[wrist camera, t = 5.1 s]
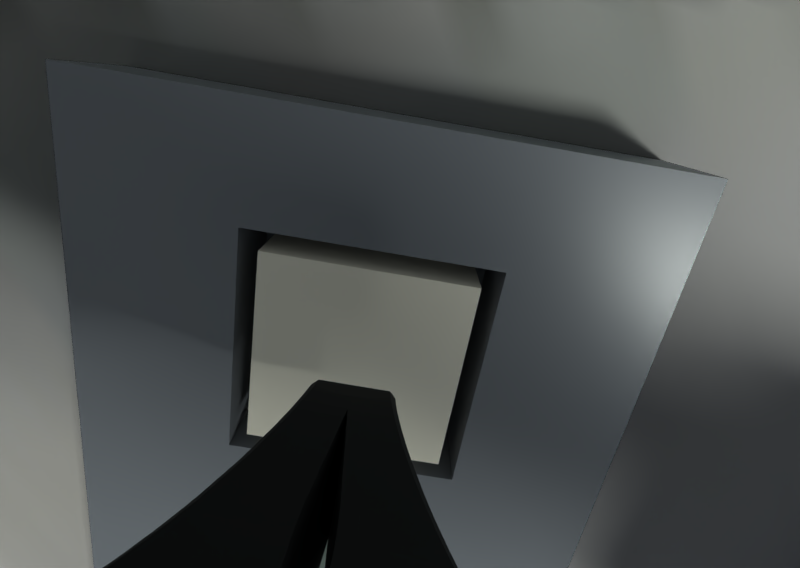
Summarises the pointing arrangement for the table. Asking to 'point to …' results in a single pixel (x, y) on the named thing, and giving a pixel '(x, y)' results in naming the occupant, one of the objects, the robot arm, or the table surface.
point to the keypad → (369, 229)
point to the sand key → (360, 332)
